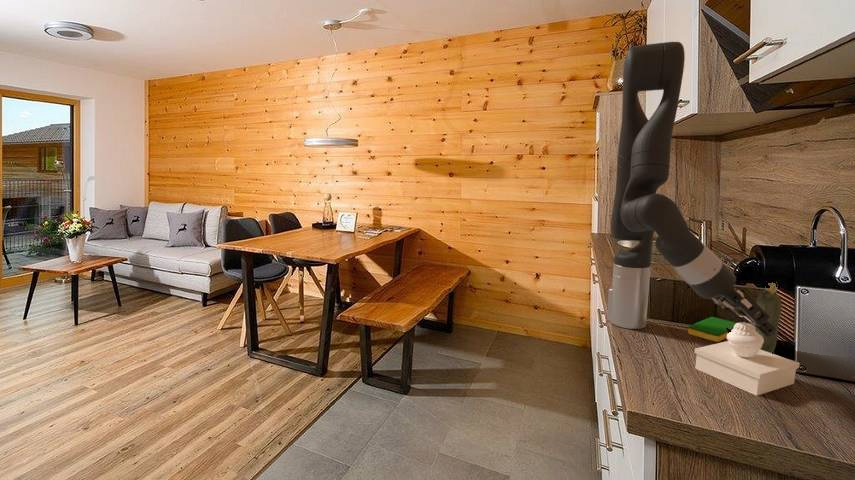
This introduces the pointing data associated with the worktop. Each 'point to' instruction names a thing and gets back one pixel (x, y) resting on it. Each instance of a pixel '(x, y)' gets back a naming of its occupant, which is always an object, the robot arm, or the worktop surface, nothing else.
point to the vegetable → (770, 314)
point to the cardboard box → (746, 368)
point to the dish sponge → (711, 329)
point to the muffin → (745, 340)
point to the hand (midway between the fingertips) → (755, 325)
